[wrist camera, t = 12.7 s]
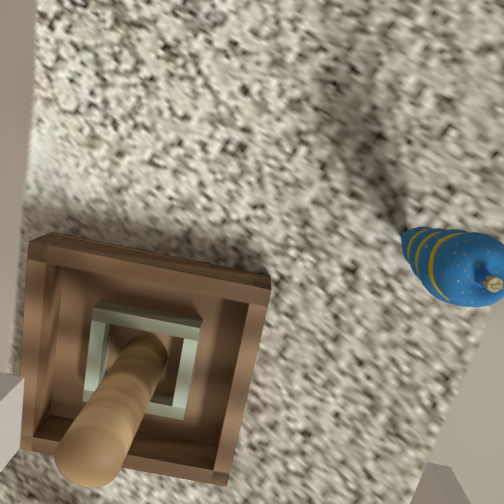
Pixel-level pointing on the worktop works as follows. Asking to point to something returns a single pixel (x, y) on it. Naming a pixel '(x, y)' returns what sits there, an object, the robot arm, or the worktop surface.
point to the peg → (112, 415)
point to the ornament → (456, 264)
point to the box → (128, 327)
